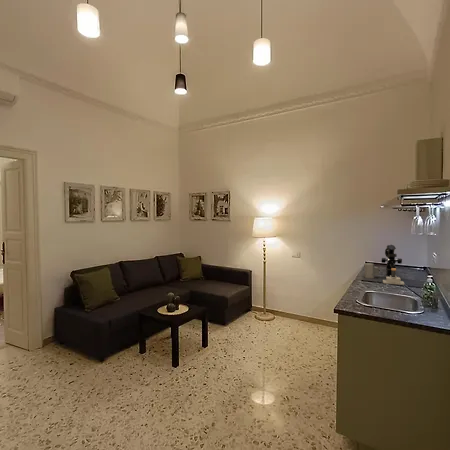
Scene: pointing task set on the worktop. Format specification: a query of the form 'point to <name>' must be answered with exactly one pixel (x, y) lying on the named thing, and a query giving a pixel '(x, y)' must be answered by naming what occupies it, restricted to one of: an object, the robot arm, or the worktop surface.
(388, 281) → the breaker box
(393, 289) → the worktop surface
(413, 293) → the worktop surface
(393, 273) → the lever
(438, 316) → the worktop surface
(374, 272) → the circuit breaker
